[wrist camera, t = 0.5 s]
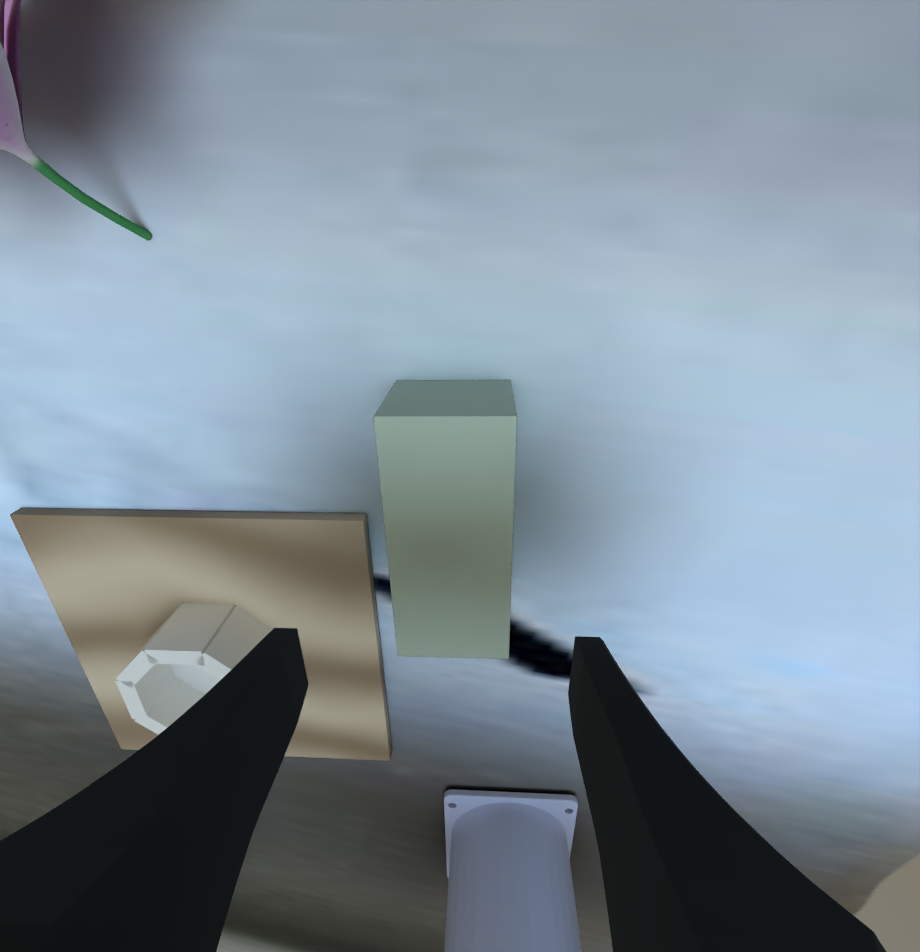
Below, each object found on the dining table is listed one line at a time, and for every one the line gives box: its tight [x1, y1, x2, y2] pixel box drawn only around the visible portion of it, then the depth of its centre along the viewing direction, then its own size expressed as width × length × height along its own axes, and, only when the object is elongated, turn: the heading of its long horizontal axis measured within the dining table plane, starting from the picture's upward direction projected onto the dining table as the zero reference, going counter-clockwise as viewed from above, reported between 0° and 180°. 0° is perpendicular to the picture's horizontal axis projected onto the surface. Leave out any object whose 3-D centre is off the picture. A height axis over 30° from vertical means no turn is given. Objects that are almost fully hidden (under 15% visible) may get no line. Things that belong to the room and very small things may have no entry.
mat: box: [10, 508, 392, 761], centre depth 25 cm, size 16×16×1 cm
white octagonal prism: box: [115, 603, 272, 735], centre depth 24 cm, size 6×6×3 cm
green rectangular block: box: [373, 380, 517, 659], centre depth 19 cm, size 10×4×4 cm, turn 1°
